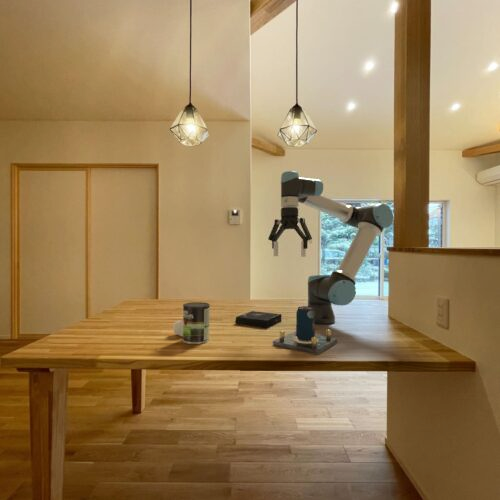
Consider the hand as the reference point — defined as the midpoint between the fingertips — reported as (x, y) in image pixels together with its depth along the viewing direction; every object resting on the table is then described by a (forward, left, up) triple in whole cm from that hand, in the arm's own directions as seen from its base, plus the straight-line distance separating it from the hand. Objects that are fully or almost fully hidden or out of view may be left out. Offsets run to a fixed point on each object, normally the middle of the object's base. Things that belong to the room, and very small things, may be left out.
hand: (289, 256), depth 138 cm
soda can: (+12, +14, -31) cm, 36 cm away
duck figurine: (+30, -31, -33) cm, 54 cm away
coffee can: (+34, -22, -33) cm, 52 cm away
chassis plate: (+12, +14, -33) cm, 38 cm away
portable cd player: (-6, -20, -33) cm, 39 cm away
